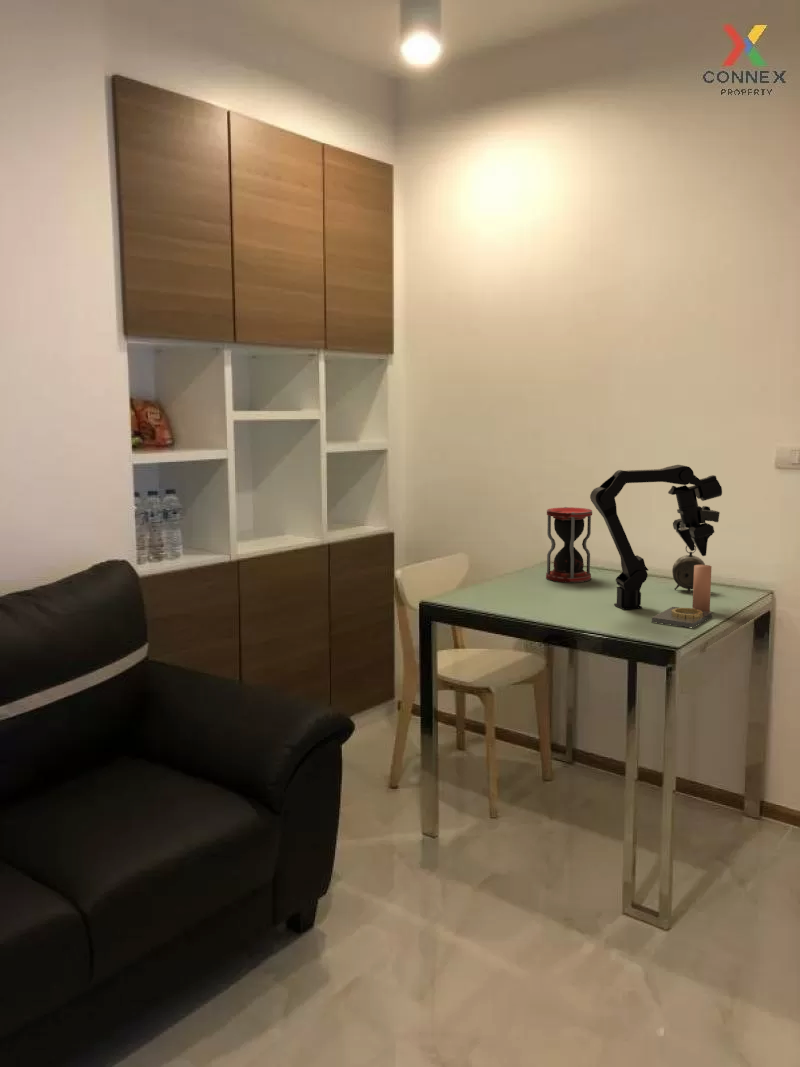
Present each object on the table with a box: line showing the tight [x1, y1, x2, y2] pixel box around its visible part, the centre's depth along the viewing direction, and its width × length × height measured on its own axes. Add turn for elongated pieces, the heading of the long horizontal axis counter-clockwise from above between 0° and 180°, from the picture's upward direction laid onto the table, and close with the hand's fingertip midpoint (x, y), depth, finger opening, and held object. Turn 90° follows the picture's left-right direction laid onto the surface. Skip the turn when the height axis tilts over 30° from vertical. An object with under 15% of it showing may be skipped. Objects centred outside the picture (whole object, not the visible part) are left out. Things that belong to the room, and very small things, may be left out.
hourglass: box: [545, 506, 593, 583], centre depth 317 cm, size 16×16×25 cm
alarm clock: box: [671, 544, 706, 593], centre depth 294 cm, size 11×5×16 cm, turn 74°
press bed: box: [651, 606, 713, 629], centre depth 259 cm, size 16×12×2 cm
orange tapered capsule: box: [692, 564, 713, 612], centre depth 267 cm, size 5×5×14 cm
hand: (698, 553), depth 273 cm, fingers open, 9 cm apart
